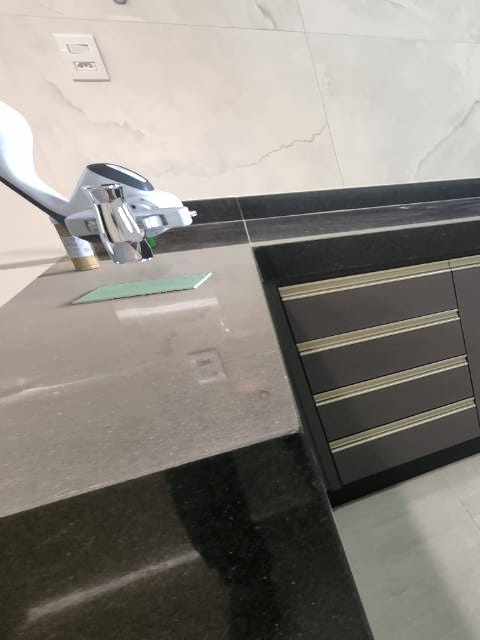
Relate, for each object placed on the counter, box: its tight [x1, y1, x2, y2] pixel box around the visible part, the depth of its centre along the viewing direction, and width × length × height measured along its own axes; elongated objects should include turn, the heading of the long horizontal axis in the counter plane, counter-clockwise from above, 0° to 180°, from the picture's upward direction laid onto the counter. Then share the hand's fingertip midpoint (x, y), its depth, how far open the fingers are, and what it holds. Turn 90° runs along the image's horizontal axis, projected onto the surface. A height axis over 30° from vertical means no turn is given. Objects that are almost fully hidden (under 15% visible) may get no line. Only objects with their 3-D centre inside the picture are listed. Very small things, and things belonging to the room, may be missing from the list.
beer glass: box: [81, 184, 155, 265], centre depth 107 cm, size 7×7×15 cm
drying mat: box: [72, 272, 212, 305], centre depth 113 cm, size 20×13×1 cm, turn 114°
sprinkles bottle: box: [48, 215, 100, 271], centre depth 130 cm, size 5×5×14 cm
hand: (118, 226), depth 107 cm, fingers closed on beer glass, 6 cm apart
